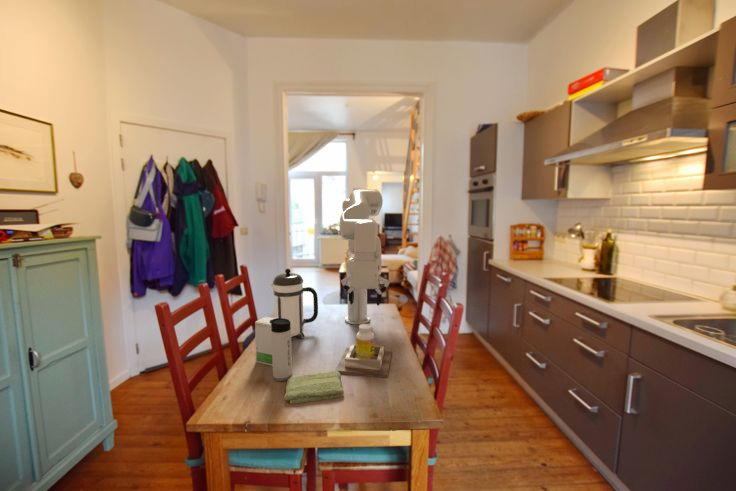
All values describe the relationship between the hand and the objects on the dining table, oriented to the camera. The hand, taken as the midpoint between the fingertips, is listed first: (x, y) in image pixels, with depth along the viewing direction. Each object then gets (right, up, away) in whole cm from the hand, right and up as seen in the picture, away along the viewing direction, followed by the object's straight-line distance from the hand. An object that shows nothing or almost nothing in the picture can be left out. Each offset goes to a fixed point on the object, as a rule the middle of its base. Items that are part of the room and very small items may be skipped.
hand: (365, 303), depth 116 cm
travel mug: (-28, -24, -7) cm, 37 cm away
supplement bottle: (0, -21, +3) cm, 21 cm away
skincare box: (-35, -22, +4) cm, 42 cm away
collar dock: (0, -22, +3) cm, 22 cm away
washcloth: (-16, -25, -14) cm, 33 cm away
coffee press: (-32, -19, +28) cm, 47 cm away
